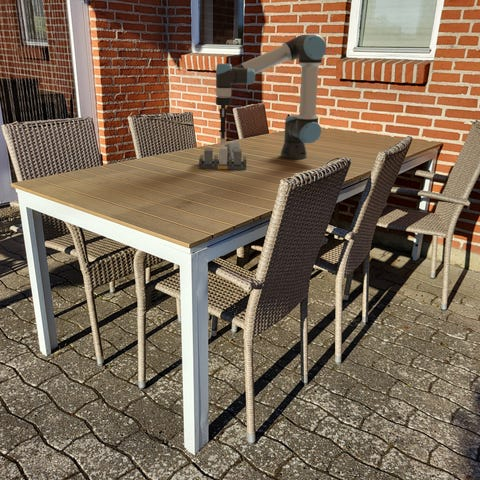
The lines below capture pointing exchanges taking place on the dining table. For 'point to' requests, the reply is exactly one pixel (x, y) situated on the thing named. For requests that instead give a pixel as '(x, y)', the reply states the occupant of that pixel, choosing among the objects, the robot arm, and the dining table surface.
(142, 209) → the dining table surface
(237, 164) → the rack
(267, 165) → the dining table surface
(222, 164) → the grey block
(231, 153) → the electrical switch
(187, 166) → the dining table surface
